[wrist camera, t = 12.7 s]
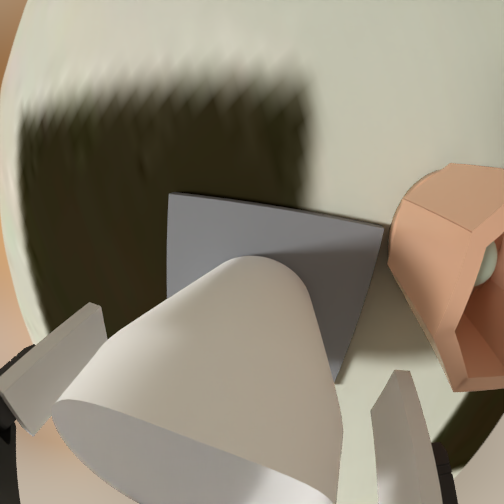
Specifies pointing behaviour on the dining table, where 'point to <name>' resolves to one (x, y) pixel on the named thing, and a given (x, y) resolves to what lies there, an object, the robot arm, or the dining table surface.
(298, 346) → the cup
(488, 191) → the pot
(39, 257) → the dining table surface
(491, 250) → the ball
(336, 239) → the mat
